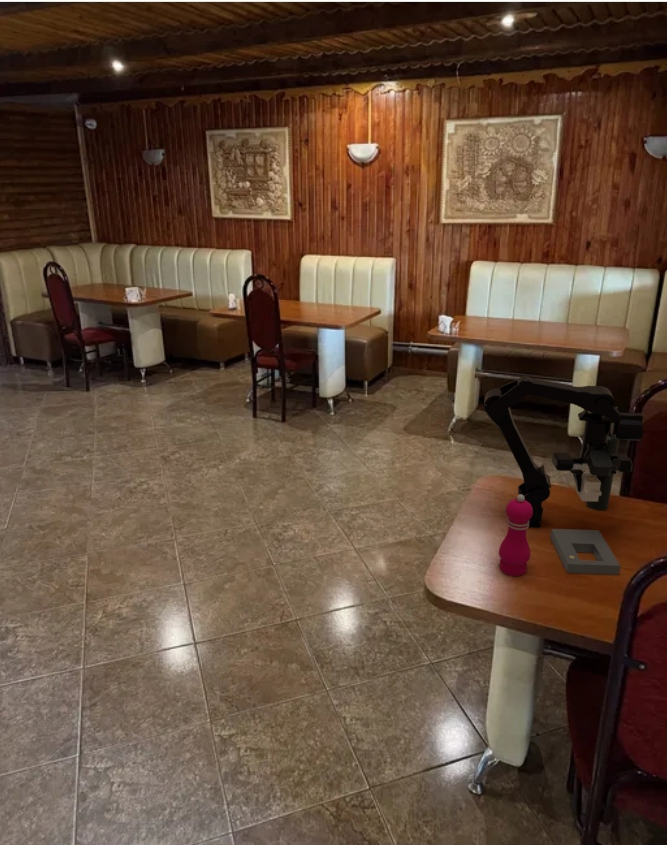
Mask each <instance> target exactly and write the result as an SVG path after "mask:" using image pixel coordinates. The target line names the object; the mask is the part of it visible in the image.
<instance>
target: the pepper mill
mask: <svg viewBox="0 0 667 845" xmlns="http://www.w3.org/2000/svg"><path fill="white" fill-rule="evenodd" d="M516 498H517V499H516ZM516 498H514V499H511V500H510V501H508V503H507V505H506V508H505V514H506V516H507V518H506V520H507V521H506V525H507V526H508V528H507V532H506V535H505V537H504V538H503V540H502V542H501V543H500V546H499V550H498V555H499V558H500V561H499V570H501V572H503V574H505V575H508V576H511V577H519V576H523V575H525V574H526V572H527V568H528V562H529V561H530V559H531V549H530V546H529V542H528V540H527V529H529V519H530V518H531V517H532V514H533V508H532V506H531V504H530V503H529V502H527V501H526V500H525V497H524V496H523V495H521V494H520V495H518V494H517V496H516Z"/></svg>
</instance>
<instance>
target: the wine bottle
mask: <svg viewBox="0 0 667 845" xmlns="http://www.w3.org/2000/svg"><path fill="white" fill-rule="evenodd" d="M607 444H608V453H609V455H610V454H611V453H613V454H618V449H619V445H620V439H615V434H614V435H612V434H611V423H610V426H609V433H608V439H607ZM614 475H615V474H612V475H610V476H608V477H607V478H606V479H605V481H604V482H603V484H602V485H601V487H600V491H601V493H602V494H601V496H599V498H598V501H585V504H586V506H587V507H588V508H590V509H592V510H594V511H595V510H596V511H606V510H608V508H609V503H610V498H611V492H612V485H613V480H614Z"/></svg>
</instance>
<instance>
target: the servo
mask: <svg viewBox="0 0 667 845" xmlns="http://www.w3.org/2000/svg"><path fill="white" fill-rule="evenodd" d="M582 471H583V474H582V479H581V490H580V492H578V491H577V487H576V486H575V492H576V494H577V495H578V497H579V498H580V500H581V502H587V501H598V498H599V496H601V494H602V493H601V491H600V486H601V482H600V480H599V479H598V478H597V476H596V475H592V474H591V473H590V471H585V470H583V469H582Z"/></svg>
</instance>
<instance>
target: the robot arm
mask: <svg viewBox="0 0 667 845" xmlns="http://www.w3.org/2000/svg"><path fill="white" fill-rule="evenodd" d="M526 396H531V397H537V398H541V399H546V400H551V401H552V400H553V401H557V402H560V403H564V404H565V403H567V404H572V405H574V406H577V407H579V408H580V409H583V410H582V411H580V412H579V413H577V417H578V420H579V421H582V422H584V430H583V435H581V439H580V440H581V441H582V442H581V443H582V444H581V450H579V453H578V454H579V457H572V456H571V455H570V453H569V452H558V451H557V452H554V453H553V454H552V455H551V462H552V465H553V466H554V468H555V469H556V470H557V471H559V472H561V471H562V472H565V471H566V472H570V473H571V474H572V475H573V479H574V483H575V488H576V487H577V491H578V492H580V490H581V479H582V474H583V469H582V466H588V469H589V472H590V473H591V474H592V475H596V476H597V478H598V479H599V480H600V482H601V485H602V484H603V482H604V481H605V479H606V478H607V477H608V476H610V475H612V474H614V475H616V474H617V471H618V472H619V473H631V472H632V471H633V467H634V464H633V461H632V460H631V459H630V458H629V456H628V455H627V454H626V453H617V454H613V453H611V454H610V455H609V453H608V444H607V439H608V433H609V426H610V423H611V434H612V435H614V434H615V439H619V440H626V441H635V442H636V441H637V442H638V441H641V440H642V439H643V436H644V430H643V429H644V424H643V423H644V421H643V419H644V415H643V414H642V413H641V412H633V413H631V412H620V411H619V410H618V406H615V405H616V402H615V398H614V396H613V394H612V392H611V390H609V388H608V387H605V386H603V385H585V386H574V385H569V384H566V383H565V384H564V383H560V382H555V381H548V380H543V379H539V378H532V377H531V376H527V375H523V376H520V377H519V378H517V379H516V380H513V381H511V382H508V383H505V384H504V385H502V386H500V387H498V388H492V389H490V390H488V391H487V392H486V394H485V396H484V403H483V405H484V406H483V409H484V412H485V413H486V415H487V416H488V417H489V418H490V420H491V421H492V422H493V423H494V424H495V425H496V426H497V427H498V428H499V431H501V433H502V435H503V437H504V440H505V441H506V444H507V446H508V447H509V450H510V452H511V454H512V455H513V457H514V460H515V461H516V463H517V465H518V467H519V469H520V471H521V474H522V478H523V482H522V483H521V484H520V485H518V486H517V496H518V495H520V494H521V495H523V496H524V497H525V500H526V501H527V502H529V503H530V504H531V506H532V508H533V514H532V517H531V518H530V519H529V527H531V528H537V527H538V528H540V527H541V526H542V524H541V522H542V520H543V519H542V518H543V512H544V508H543V505H542V503H543V502H545V501H547V499H549V497H550V496H551V488H552V484H551V476H550V475H549V474H548V473H547V471H546V469H545V466H544V465H543V464H542V465H540V466H538V465H537V463H535V461H534V459H533V458H532V455H531V452H530V450H529V449H528V447H527V445H526V443H525V441H524V438H523V437H522V435H521V433H520V431H519V429H518V427H517V424H516V422H515V420H514V418H513V414H512V410H511V408H512V407H513V406H514V405H516V404H517V403H518V402H520V401H521V400H522V399H523V398H525V397H526ZM600 487H601V486H600ZM515 499H517V497H515ZM529 527H528V528H529Z"/></svg>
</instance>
